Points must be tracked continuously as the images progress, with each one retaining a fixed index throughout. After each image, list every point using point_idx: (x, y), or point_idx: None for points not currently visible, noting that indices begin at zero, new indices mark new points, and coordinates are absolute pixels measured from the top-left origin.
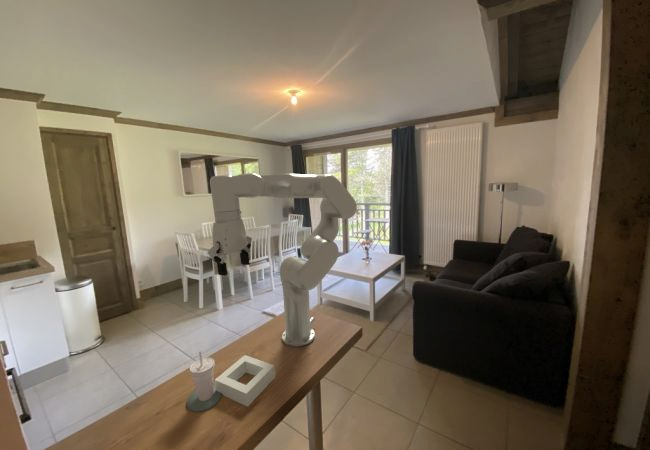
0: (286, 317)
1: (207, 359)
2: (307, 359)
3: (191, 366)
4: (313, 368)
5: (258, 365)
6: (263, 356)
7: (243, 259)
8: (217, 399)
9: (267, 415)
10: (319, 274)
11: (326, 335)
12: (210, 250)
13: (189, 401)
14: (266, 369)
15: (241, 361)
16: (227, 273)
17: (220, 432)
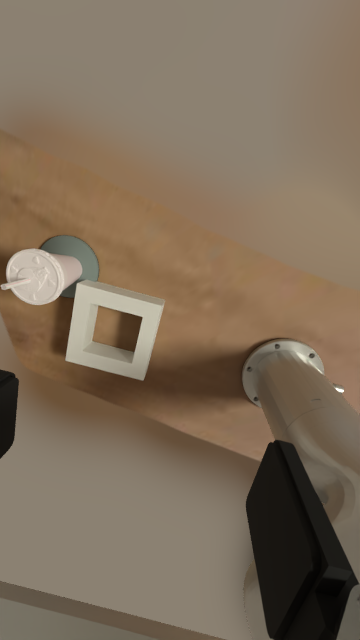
0: (276, 391)
1: (53, 277)
2: (205, 409)
3: (21, 254)
4: (182, 424)
5: (136, 350)
6: (201, 323)
7: (271, 514)
8: (68, 295)
9: (72, 384)
10: None
11: None
12: None
13: (49, 245)
14: (129, 370)
15: (140, 309)
16: (6, 450)
17: (25, 332)
